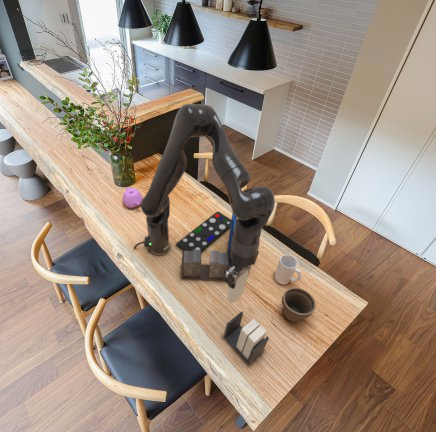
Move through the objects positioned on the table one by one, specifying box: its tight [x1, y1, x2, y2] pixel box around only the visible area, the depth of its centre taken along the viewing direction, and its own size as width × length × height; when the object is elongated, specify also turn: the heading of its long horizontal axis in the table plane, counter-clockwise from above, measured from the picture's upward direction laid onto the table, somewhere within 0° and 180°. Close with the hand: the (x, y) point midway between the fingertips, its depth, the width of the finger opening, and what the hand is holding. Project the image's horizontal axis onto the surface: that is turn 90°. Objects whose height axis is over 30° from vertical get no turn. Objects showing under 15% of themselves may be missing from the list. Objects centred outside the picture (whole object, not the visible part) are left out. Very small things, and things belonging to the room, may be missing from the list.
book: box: [226, 212, 238, 267], centre depth 131 cm, size 22×7×25 cm, turn 168°
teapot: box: [122, 186, 144, 209], centre depth 160 cm, size 10×15×9 cm
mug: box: [274, 254, 302, 285], centre depth 124 cm, size 10×7×12 cm, turn 42°
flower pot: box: [281, 287, 317, 322], centre depth 114 cm, size 12×11×10 cm
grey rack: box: [180, 250, 231, 282], centre depth 128 cm, size 19×8×12 cm, turn 86°
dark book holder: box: [223, 310, 270, 366], centre depth 104 cm, size 12×8×15 cm, turn 38°
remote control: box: [175, 211, 232, 253], centre depth 147 cm, size 11×30×2 cm, turn 135°
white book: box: [226, 267, 250, 305], centre depth 100 cm, size 3×6×14 cm, turn 132°
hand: (238, 280), depth 98 cm, fingers closed on white book, 6 cm apart
